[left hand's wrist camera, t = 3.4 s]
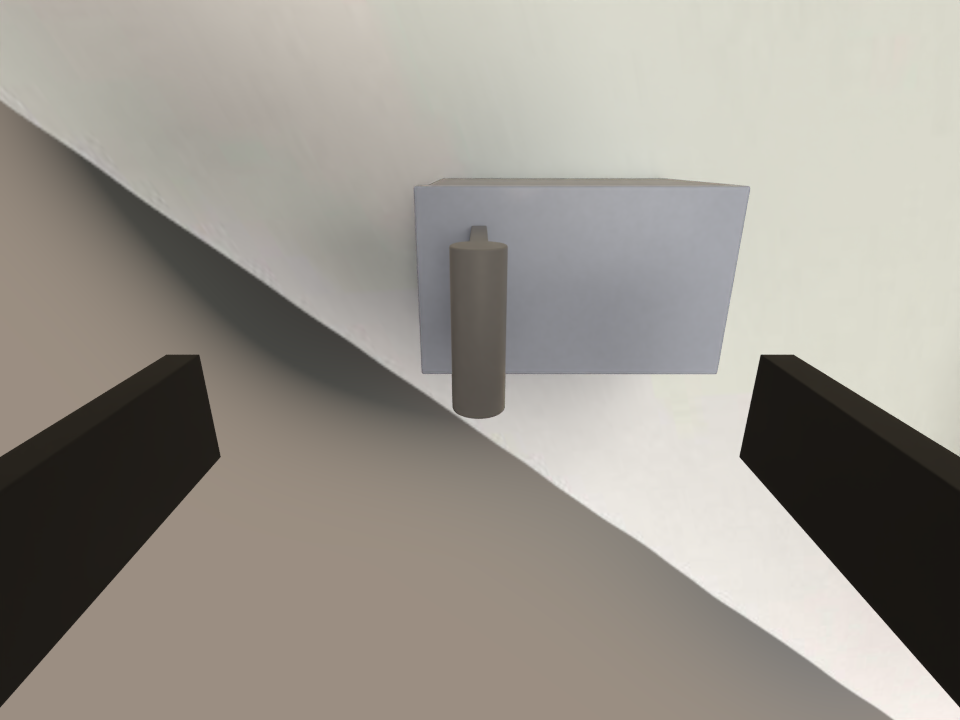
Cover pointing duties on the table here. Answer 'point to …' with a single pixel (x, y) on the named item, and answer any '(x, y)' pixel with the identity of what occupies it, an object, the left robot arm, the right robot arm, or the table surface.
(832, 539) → the left robot arm
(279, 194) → the table surface
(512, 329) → the lid
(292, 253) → the table surface
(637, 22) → the table surface
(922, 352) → the table surface
